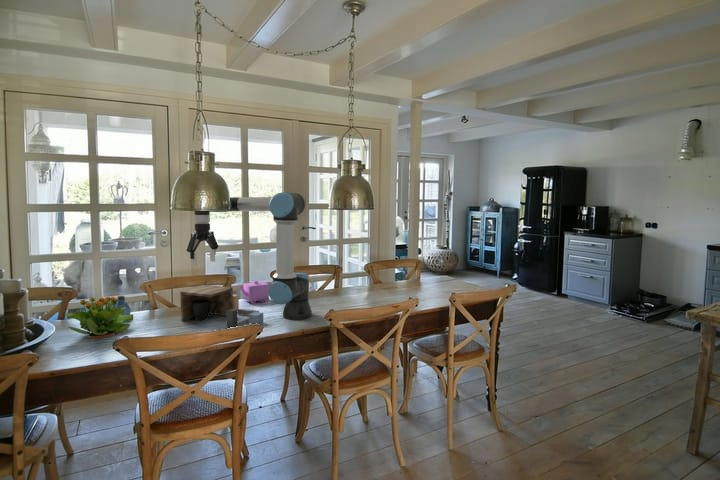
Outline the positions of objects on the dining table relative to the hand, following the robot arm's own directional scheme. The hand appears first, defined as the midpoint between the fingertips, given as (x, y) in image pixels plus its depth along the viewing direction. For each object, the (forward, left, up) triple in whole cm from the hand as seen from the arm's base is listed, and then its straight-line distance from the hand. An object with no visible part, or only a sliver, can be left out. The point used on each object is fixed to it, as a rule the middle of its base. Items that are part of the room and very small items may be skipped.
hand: (203, 263), depth 220 cm
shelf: (-7, +6, -27) cm, 29 cm away
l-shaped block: (-6, -9, -27) cm, 29 cm away
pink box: (-10, -31, -28) cm, 43 cm away
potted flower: (+19, +46, -28) cm, 57 cm away
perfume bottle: (+31, +24, -28) cm, 48 cm away
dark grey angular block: (-24, +6, -27) cm, 37 cm away
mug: (-7, +8, -27) cm, 29 cm away
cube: (-35, +5, -27) cm, 45 cm away
